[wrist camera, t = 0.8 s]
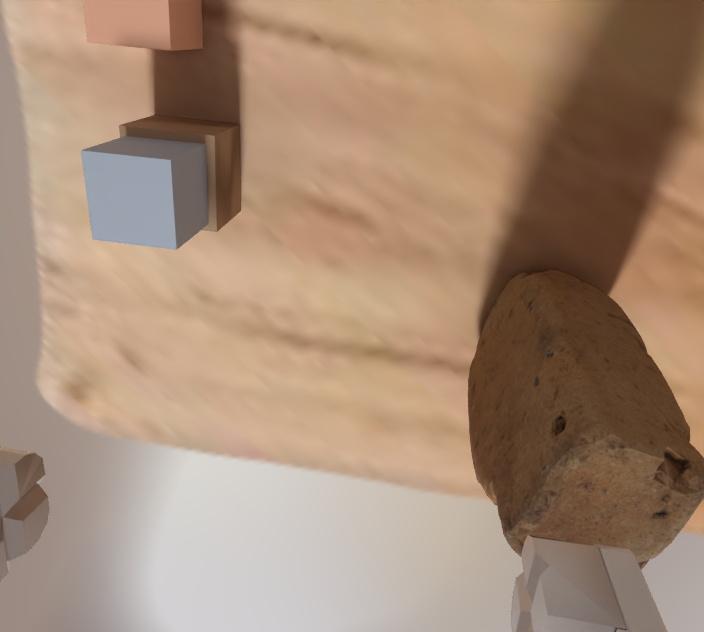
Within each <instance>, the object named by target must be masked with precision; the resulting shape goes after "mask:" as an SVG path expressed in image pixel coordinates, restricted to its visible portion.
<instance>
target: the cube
mask: <svg viewBox="0 0 704 632" xmlns="http://www.w3.org/2000/svg"><path fill="white" fill-rule="evenodd" d="M83 5H84V14H85V24H86V33H87V42H89V43H99V44H109V45H118V46H128V47H138V48H148V49H158V50H168V51H175V50H190V49H203V29H202V0H83Z"/></svg>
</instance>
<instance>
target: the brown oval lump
mask: <svg viewBox="0 0 704 632" xmlns="http://www.w3.org/2000/svg"><path fill="white" fill-rule="evenodd" d="M468 413H469V432H470V443H471V452H472V458H473V464H474V469H475V473H476V477H477V480H478V482H479V483H480V484H481V485H482V487H483V489H484V490H485V492H486V495H487V496H488V497H489V498H490V499H491V500H492V502H493V503H494V504H495V505H497V506H498V513H499V517H500V519H501V524H502V529H503V534H504V536H505V538H506V540H507V542H508V543H509V545H510V546H511V548H512V549H513V550H514V551H515V552H516V553H517V554H518V555H519V556H521V554H522V550H523V546H524V542H525V540H526V538H527V535H533V536H539V537H545V538H552V539H558V540H564V541H570V542H577V543H583V544H589V545H595V544H596V545H603V546H610V547H617V548H624V549H629V550H630V551H631V552H632V553H633V554H634V555H635V557H636V560H637V562H638V564H639V567H640V569H642V568H643V567H644V566H645V565H646V564H647V562H648V561H649V560H650V559H652V558H655V557H656V556H657V555H659V554H660V553H661V552H662V551H663V550H664V549H665V548H666V547H667V546H668V545H669V544H670V543H671V542H672V541H673V540H674V538H675V537H676V536H677V535H678V533H679V532H680V531H681V530H682V528H683V527H684V526H685V524H686V523H687V521H688V520H689V519H690V517H691V516H692V514H693V513H694V511H695V510H696V508H697V507H698V505H699V504H700V503H701V501H702V500H703V499H704V458H703V457H702V455H701V454H700V453H699V452H698V451H697V450H696V449H695V448H694V447H693V446H692V445H691V444H690V443H689V442H690V427H689V426H688V424H687V422H686V420H685V418H684V415H683V413H682V411H681V409H680V407H679V406H678V404H677V402H676V400H675V398H674V395H673V393H672V391H671V389H670V387H669V385H668V383H667V382H666V380H665V378H664V376H663V375H662V373H661V371H660V370H659V368H658V367H657V365H656V364H655V362H654V361H653V359H652V357H651V356H649V355H648V353H647V350H646V347H645V344H644V342H643V340H642V338H641V336H640V334H639V333H638V331H637V330H636V328H635V327H634V325H633V324H632V323H631V321H630V320H629V318H628V317H627V315H626V314H625V313H624V311H623V310H622V308H621V307H620V306H619V305H618V304H617V303H616V302H615V301H614V300H613V299H611V298H610V297H609V296H607V295H606V294H604V293H603V292H601V291H600V290H598V289H597V288H595V287H593V286H591V285H589V284H588V283H586V282H583V281H581V280H579V279H578V278H576V277H574V276H572V275H569V274H567V273H564V272H560V271H556V270H547V271H544V272H523V273H520V274H518V275H517V276H515V277H514V278H512V279H511V280H510V281H509V282H508V284H507V285H506V286H505V288H504V289H503V291H502V292H501V294H500V295H499V297H498V299H497V301H496V302H495V304H494V305H493V307H492V308H491V310H490V313H489V316H488V318H487V320H486V322H485V324H484V327H483V331H482V334H481V337H480V339H479V341H478V345H477V350H476V354H475V357H474V359H473V361H472V364H471V367H470V373H469V379H468Z"/></svg>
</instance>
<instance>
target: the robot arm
mask: <svg viewBox="0 0 704 632" xmlns="http://www.w3.org/2000/svg"><path fill="white" fill-rule="evenodd" d="M44 475H45V470H44V464H43V459H42V457H40V456H39V455H37V454H36V453H33V452H28V451H22V450H17V449H12V448H6V447H1V446H0V581H1V580H2V579H3V578H4V577H5V576H6V575H7V574H8V572H9V561H10V560H12V559H15V558H17V557H19V556H21V555H23V554H25V553H27V552H28V551H29V550H30V549H31V548H32V547H33V546H34V545H35V544H36V542H37V541H38V540H39V539H40V536H41V534H42V532H43V530H44V528H45V526H46V524H47V521H48V514H49V501H48V496H47V495H46V493H45V492H44V491H43V489H42V488H41V487H40V485H39V482H40V481H41V480H42V478H43V477H44ZM521 557H522V563H523V570H524V572H523V573H522V574H520V575H519V576H518V577H516V581H515V586H514V591H513V597H512V610H511V626H512V632H667V630H666V627H665V625H664V623H663V621H662V618H661V616H660V613H659V611H658V609H657V606H656V604H655V602H654V600H653V597H652V595H651V592H650V590H649V588H648V585H647V583H646V581H645V578H644V576H643V574H642V571H641V569H640V567H639V564H638V562H637V560H636V557H635V555H634V554H633V553H632V552H631V551H630V550H629V549H624V548H617V547H610V546H603V545H596V544H595V545H589V544H583V543H577V542H570V541H564V540H558V539H552V538H545V537H539V536H533V535H527V538H526V540H525V542H524V546H523V550H522V554H521Z"/></svg>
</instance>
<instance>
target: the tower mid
mask: <svg viewBox="0 0 704 632" xmlns="http://www.w3.org/2000/svg"><path fill="white" fill-rule="evenodd" d="M81 154H82V162H83V170H84V177H85V185H86V192H87V200H88V208H89V215H90V223H91V230H92V238H93V240H100V241H109V242H117V243H125V244H133V245H141V246H150V247H158V248H166V249H174V250H177V249H178V248H179V247H180V246H182V245H183V244H184V243H185V242H187V241H188V240H189V239H190V238H192V237H193V236H194V235H195V234H197V233H198V232H199V231H200V230H202V229H203V228H204V227H205V226H207V225H208V199H207V173H206V148H205V144H201V143H191V142H181V141H171V140H162V139H152V138H142V137H132V136H125V137H121V138H118V139H115V140H112V141H109V142H106V143H103V144H100V145H97V146H94V147H90V148H87V149H84V150H81Z"/></svg>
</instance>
